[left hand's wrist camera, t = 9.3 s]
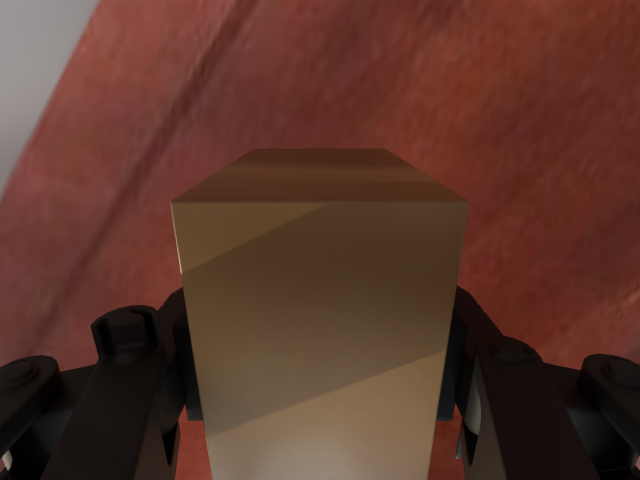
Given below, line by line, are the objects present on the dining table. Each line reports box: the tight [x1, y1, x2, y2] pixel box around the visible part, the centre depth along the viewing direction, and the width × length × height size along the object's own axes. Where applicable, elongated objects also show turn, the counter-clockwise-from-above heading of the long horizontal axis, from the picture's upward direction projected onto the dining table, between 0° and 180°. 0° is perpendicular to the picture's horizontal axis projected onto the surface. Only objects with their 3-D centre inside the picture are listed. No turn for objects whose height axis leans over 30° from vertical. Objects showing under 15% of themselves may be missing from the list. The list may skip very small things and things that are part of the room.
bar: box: [170, 149, 469, 480], centre depth 14 cm, size 23×5×8 cm, turn 0°
